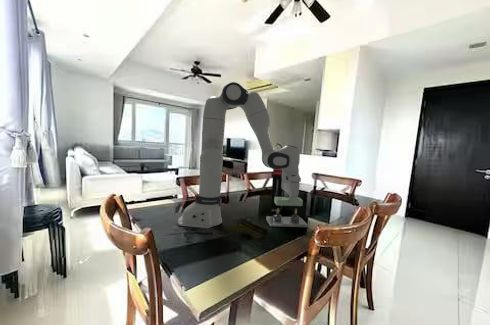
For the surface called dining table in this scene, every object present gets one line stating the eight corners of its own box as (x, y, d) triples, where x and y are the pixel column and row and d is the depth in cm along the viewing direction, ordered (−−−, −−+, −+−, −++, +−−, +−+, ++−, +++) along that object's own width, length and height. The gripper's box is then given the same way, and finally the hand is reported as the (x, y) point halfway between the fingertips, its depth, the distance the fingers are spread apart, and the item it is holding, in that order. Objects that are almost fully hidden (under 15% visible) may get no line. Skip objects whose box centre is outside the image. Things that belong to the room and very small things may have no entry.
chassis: (270, 226, 115) (271, 211, 114) (266, 218, 126) (267, 205, 125) (307, 227, 117) (308, 212, 116) (300, 219, 128) (301, 206, 127)
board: (276, 205, 117) (277, 199, 117) (274, 202, 123) (274, 196, 123) (302, 205, 118) (302, 200, 118) (298, 202, 124) (299, 197, 124)
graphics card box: (280, 214, 135) (284, 170, 133) (269, 213, 137) (272, 169, 134) (282, 206, 152) (285, 167, 149) (271, 205, 153) (274, 166, 151)
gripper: (279, 172, 129) (277, 195, 130) (289, 178, 109) (287, 206, 110) (290, 173, 130) (288, 196, 131) (302, 179, 109) (300, 206, 111)
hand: (288, 200), depth 120 cm, fingers closed on board, 6 cm apart
